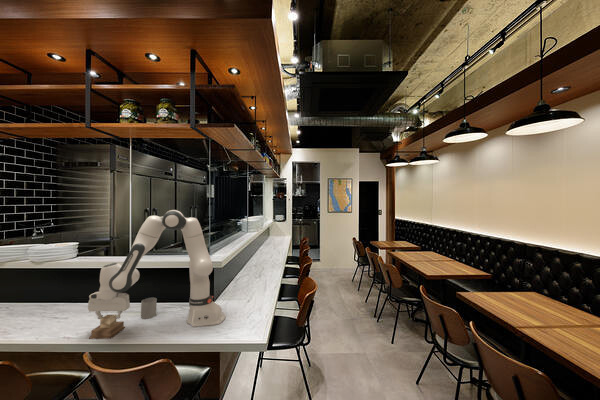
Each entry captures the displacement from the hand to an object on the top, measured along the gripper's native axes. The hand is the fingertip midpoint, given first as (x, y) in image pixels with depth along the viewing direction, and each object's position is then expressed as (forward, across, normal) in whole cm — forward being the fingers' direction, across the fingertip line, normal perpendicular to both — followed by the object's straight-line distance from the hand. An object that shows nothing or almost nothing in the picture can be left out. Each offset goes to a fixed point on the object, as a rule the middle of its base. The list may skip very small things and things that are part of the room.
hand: (109, 318), depth 134 cm
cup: (+8, -10, -21) cm, 24 cm away
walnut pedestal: (+8, 0, 0) cm, 8 cm away
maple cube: (+4, 0, 0) cm, 4 cm away
